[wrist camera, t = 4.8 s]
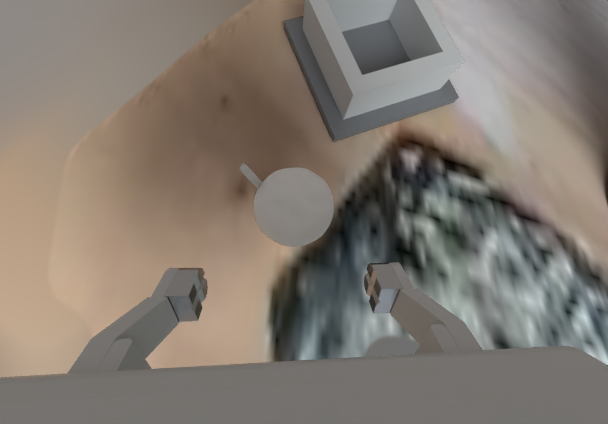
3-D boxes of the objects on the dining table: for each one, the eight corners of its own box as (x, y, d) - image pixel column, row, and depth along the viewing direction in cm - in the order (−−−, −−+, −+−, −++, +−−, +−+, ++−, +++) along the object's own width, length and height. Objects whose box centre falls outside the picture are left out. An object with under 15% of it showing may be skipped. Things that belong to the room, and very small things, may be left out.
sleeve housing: (397, 0, 27) (418, -48, 23) (453, 102, 25) (487, 70, 21) (284, 28, 25) (283, -18, 21) (333, 141, 23) (343, 115, 19)
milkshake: (275, 187, 22) (266, 129, 12) (325, 216, 22) (357, 182, 12) (248, 229, 21) (214, 203, 11) (300, 260, 21) (312, 262, 11)
